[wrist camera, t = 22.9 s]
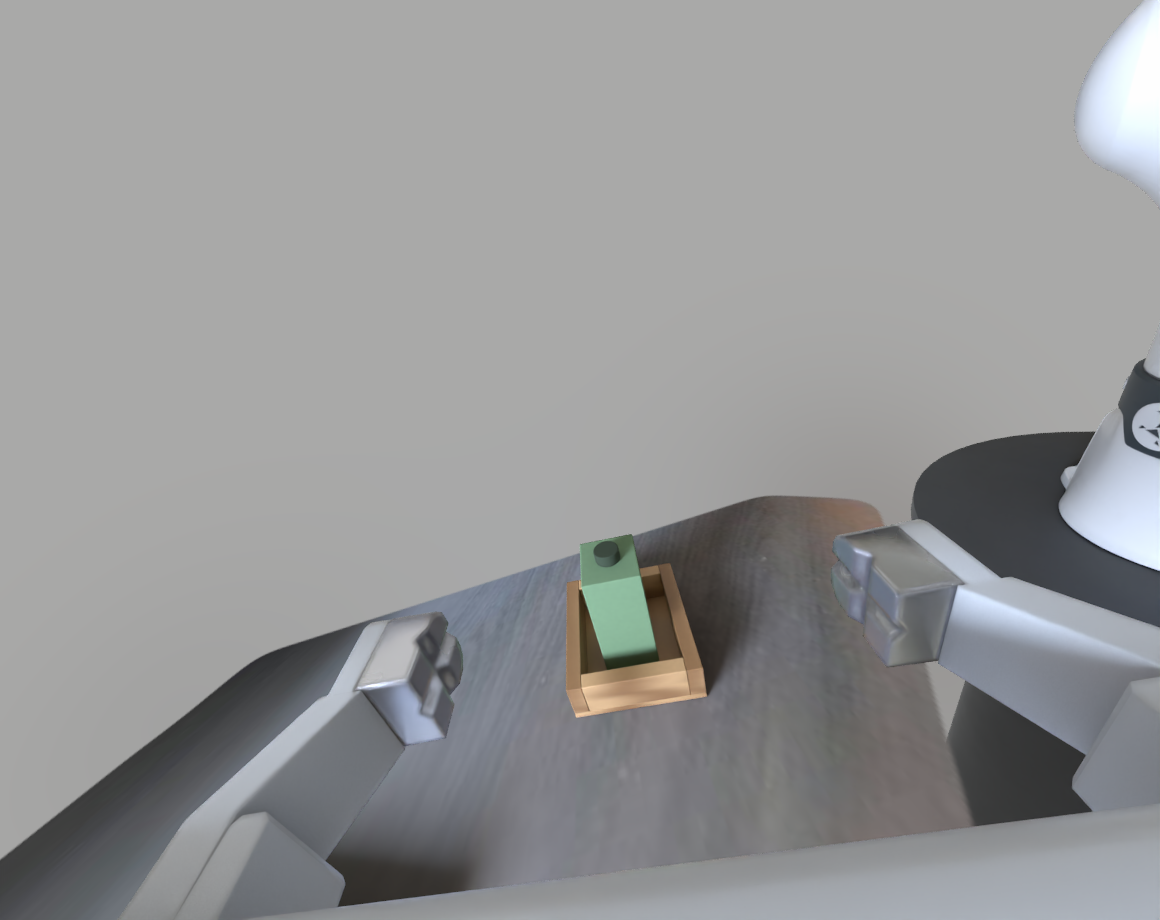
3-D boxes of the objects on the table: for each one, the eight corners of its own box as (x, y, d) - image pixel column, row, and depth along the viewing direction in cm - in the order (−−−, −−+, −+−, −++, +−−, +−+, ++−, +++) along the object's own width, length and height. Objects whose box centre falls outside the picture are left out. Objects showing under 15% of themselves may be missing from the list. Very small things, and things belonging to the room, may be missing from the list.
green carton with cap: (649, 615, 39) (629, 524, 34) (660, 663, 35) (638, 565, 30) (603, 624, 40) (576, 534, 35) (607, 672, 35) (577, 577, 30)
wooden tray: (674, 588, 42) (670, 562, 41) (707, 696, 32) (703, 668, 30) (574, 606, 43) (566, 582, 41) (576, 718, 33) (565, 691, 31)
